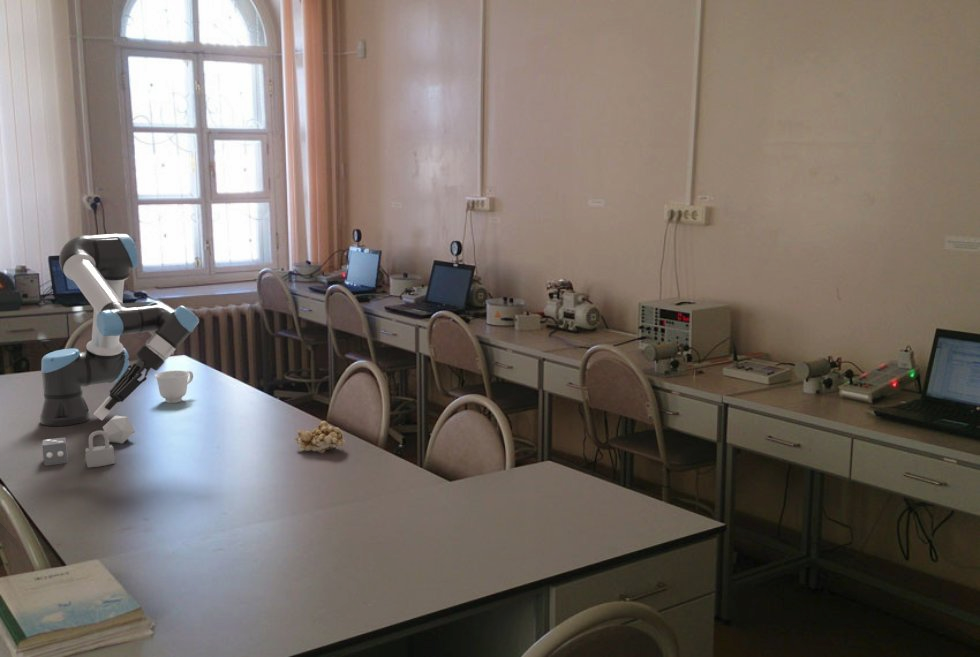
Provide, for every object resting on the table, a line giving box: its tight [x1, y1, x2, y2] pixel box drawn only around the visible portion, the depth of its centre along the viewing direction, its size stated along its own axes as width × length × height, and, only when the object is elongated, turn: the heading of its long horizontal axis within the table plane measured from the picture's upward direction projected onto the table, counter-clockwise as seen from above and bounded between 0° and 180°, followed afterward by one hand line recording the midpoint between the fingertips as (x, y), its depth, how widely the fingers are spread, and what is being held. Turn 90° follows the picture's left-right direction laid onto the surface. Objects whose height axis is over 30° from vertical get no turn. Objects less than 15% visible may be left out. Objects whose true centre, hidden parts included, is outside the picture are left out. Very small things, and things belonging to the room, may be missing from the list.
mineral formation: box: [294, 420, 346, 454], centre depth 271 cm, size 8×13×15 cm
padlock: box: [84, 430, 116, 469], centre depth 258 cm, size 7×4×10 cm, turn 122°
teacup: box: [154, 370, 194, 404], centre depth 330 cm, size 12×15×10 cm
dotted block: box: [41, 437, 68, 467], centre depth 261 cm, size 6×6×6 cm
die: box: [102, 415, 136, 444], centre depth 280 cm, size 8×9×10 cm
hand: (97, 417), depth 257 cm, fingers closed
